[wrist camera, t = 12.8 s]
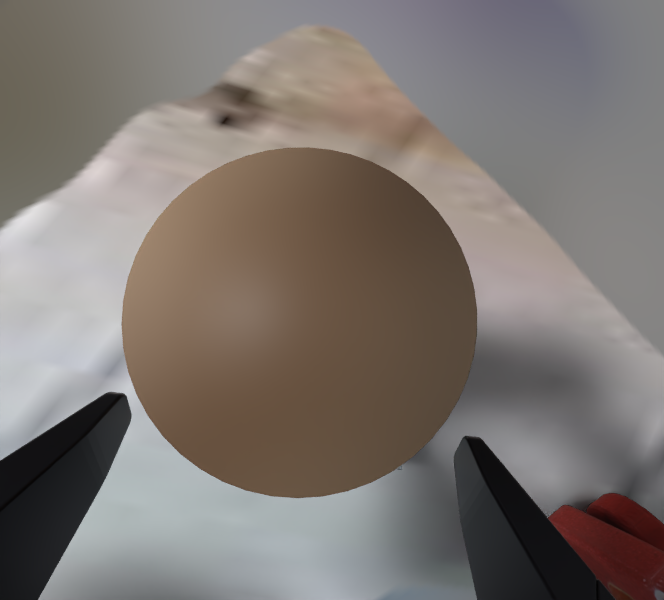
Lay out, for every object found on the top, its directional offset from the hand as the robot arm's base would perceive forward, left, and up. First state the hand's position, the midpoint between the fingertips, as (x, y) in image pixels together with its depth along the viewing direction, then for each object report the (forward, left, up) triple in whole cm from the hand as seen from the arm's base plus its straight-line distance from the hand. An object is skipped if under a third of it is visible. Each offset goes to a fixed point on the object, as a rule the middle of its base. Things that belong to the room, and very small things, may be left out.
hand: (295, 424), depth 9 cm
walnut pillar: (+1, -2, -8) cm, 8 cm away
